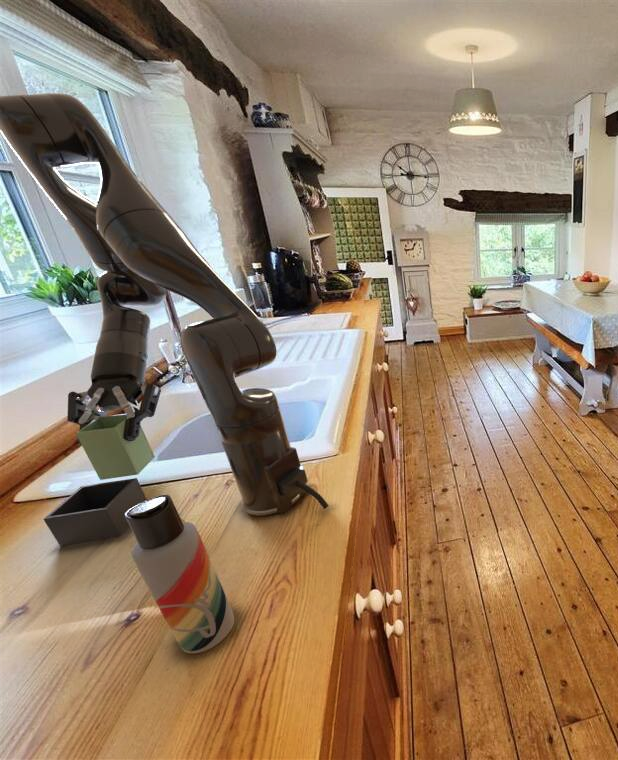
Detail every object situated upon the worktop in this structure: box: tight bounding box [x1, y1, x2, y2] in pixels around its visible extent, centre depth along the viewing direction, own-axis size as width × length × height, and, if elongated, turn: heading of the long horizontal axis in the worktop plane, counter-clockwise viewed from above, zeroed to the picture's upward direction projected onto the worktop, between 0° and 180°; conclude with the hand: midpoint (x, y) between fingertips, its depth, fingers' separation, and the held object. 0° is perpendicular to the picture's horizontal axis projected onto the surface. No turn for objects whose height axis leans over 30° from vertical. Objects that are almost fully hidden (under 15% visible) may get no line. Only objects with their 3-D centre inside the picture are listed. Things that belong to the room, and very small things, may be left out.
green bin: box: [75, 413, 156, 481], centre depth 76 cm, size 6×6×10 cm
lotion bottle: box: [125, 494, 235, 654], centre depth 47 cm, size 6×6×20 cm
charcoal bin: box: [43, 477, 148, 547], centre depth 68 cm, size 8×8×6 cm
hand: (108, 442), depth 74 cm, fingers closed on green bin, 6 cm apart
